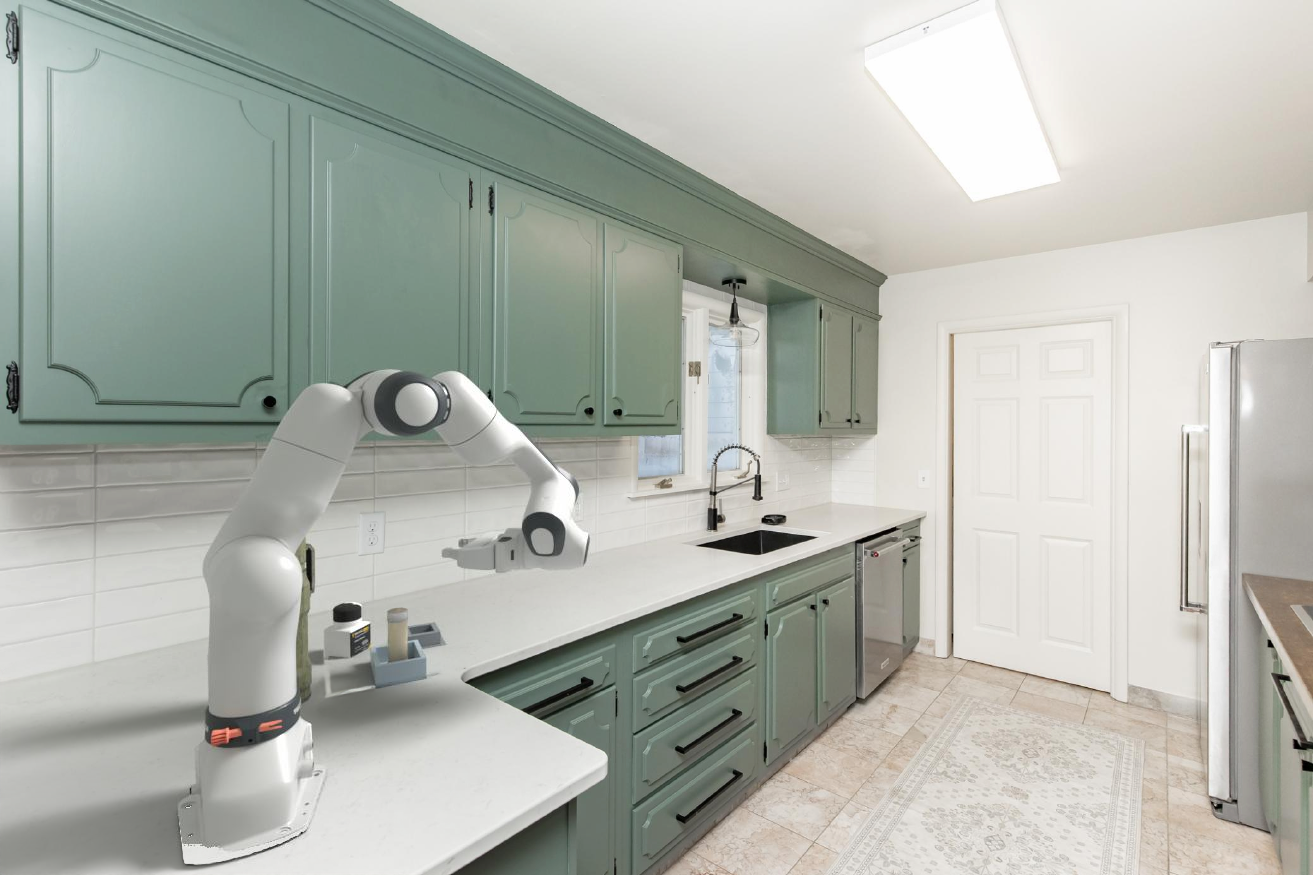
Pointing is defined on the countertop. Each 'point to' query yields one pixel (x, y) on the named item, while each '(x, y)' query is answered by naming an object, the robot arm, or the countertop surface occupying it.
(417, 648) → the parts tray
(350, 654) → the medicine bottle
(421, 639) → the socket block
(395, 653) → the fuse
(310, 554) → the thermos
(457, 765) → the countertop surface
